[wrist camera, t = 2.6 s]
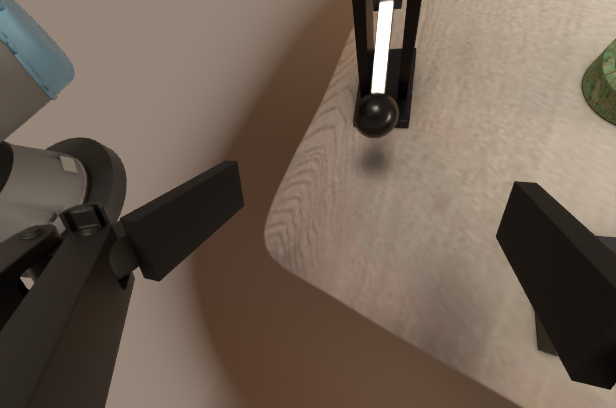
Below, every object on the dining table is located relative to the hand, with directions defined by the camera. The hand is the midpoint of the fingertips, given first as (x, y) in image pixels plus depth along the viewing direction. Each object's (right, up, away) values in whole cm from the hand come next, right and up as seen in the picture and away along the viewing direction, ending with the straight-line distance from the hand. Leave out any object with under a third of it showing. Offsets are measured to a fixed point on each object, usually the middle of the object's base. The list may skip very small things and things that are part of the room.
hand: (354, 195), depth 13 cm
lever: (+4, +12, +10) cm, 16 cm away
